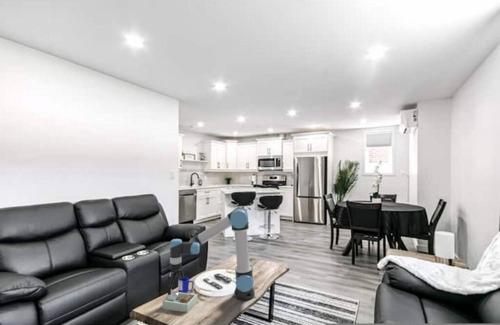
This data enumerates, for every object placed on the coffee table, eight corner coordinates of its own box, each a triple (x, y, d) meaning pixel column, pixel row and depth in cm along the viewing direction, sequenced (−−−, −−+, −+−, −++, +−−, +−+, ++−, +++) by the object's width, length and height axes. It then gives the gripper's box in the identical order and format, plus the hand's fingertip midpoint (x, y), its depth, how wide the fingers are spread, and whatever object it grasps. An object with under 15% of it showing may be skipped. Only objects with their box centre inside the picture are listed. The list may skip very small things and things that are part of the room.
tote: (197, 302, 180) (197, 294, 181) (187, 312, 167) (187, 304, 167) (173, 298, 185) (173, 291, 185) (162, 308, 171) (162, 301, 171)
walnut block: (190, 303, 177) (190, 296, 177) (186, 307, 172) (186, 299, 172) (183, 302, 178) (184, 295, 178) (180, 306, 173) (180, 298, 174)
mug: (190, 296, 188) (191, 282, 189) (175, 294, 191) (175, 280, 191) (195, 291, 196) (195, 277, 197) (180, 289, 199) (180, 276, 199)
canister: (179, 302, 179) (180, 291, 179) (176, 305, 174) (176, 295, 174) (173, 301, 180) (173, 290, 180) (169, 304, 175) (169, 294, 175)
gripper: (179, 256, 191) (179, 285, 190) (160, 268, 167) (159, 302, 166) (189, 257, 189) (188, 287, 188) (170, 269, 165) (170, 304, 164)
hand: (175, 294), depth 177 cm, fingers open, 13 cm apart
